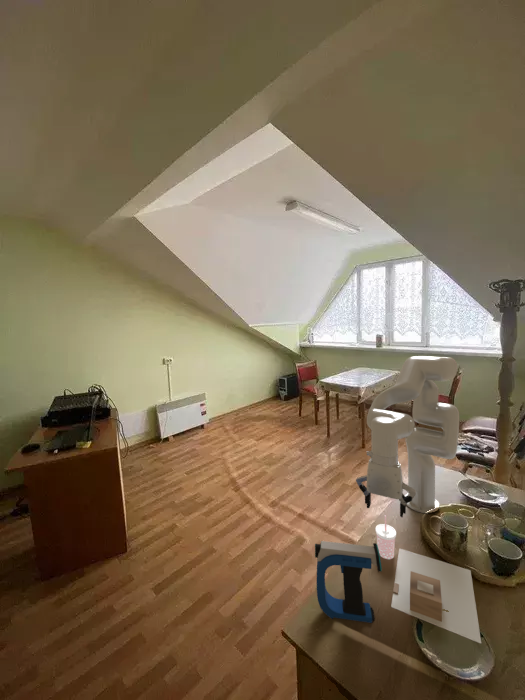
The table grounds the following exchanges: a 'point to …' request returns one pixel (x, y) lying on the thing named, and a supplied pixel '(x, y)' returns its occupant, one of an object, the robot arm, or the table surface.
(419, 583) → the block
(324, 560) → the handheld scanner
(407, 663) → the table surface
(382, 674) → the table surface
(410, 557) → the subfloor panel
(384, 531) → the beverage cup
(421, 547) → the table surface
